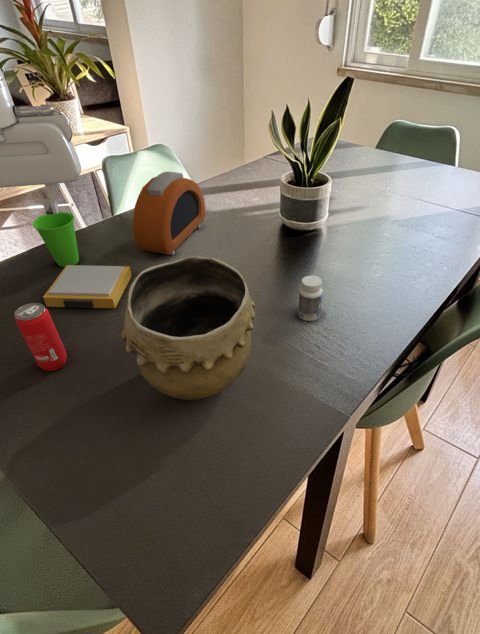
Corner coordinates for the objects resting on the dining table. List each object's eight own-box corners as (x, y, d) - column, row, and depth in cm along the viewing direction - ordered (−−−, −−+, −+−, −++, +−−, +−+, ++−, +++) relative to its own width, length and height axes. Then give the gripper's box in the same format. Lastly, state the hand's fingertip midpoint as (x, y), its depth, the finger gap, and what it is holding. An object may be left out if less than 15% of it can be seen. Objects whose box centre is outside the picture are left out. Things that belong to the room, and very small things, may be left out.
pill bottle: (322, 320, 88) (326, 286, 82) (300, 322, 88) (302, 288, 82) (317, 306, 92) (320, 273, 86) (295, 309, 91) (297, 275, 85)
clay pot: (274, 411, 70) (276, 315, 57) (143, 442, 66) (111, 345, 52) (243, 333, 85) (238, 242, 72) (134, 354, 81) (107, 261, 67)
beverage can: (32, 368, 78) (5, 316, 70) (52, 350, 82) (29, 299, 73) (55, 375, 77) (30, 323, 68) (74, 357, 80) (53, 305, 72)
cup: (92, 264, 105) (79, 222, 97) (54, 275, 101) (37, 232, 94) (81, 249, 110) (67, 208, 103) (44, 259, 107) (28, 217, 99)
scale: (45, 308, 91) (40, 296, 89) (69, 274, 102) (65, 262, 99) (114, 310, 91) (110, 298, 89) (131, 275, 101) (129, 264, 99)
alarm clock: (168, 262, 105) (157, 196, 94) (136, 256, 107) (121, 191, 96) (208, 222, 122) (202, 161, 110) (179, 217, 124) (171, 157, 112)
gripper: (67, 98, 56) (95, 200, 65) (-106, 106, 53) (-50, 212, 62) (60, 110, 51) (91, 218, 61) (-129, 120, 48) (-66, 232, 58)
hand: (19, 215), depth 61 cm, fingers open, 8 cm apart
